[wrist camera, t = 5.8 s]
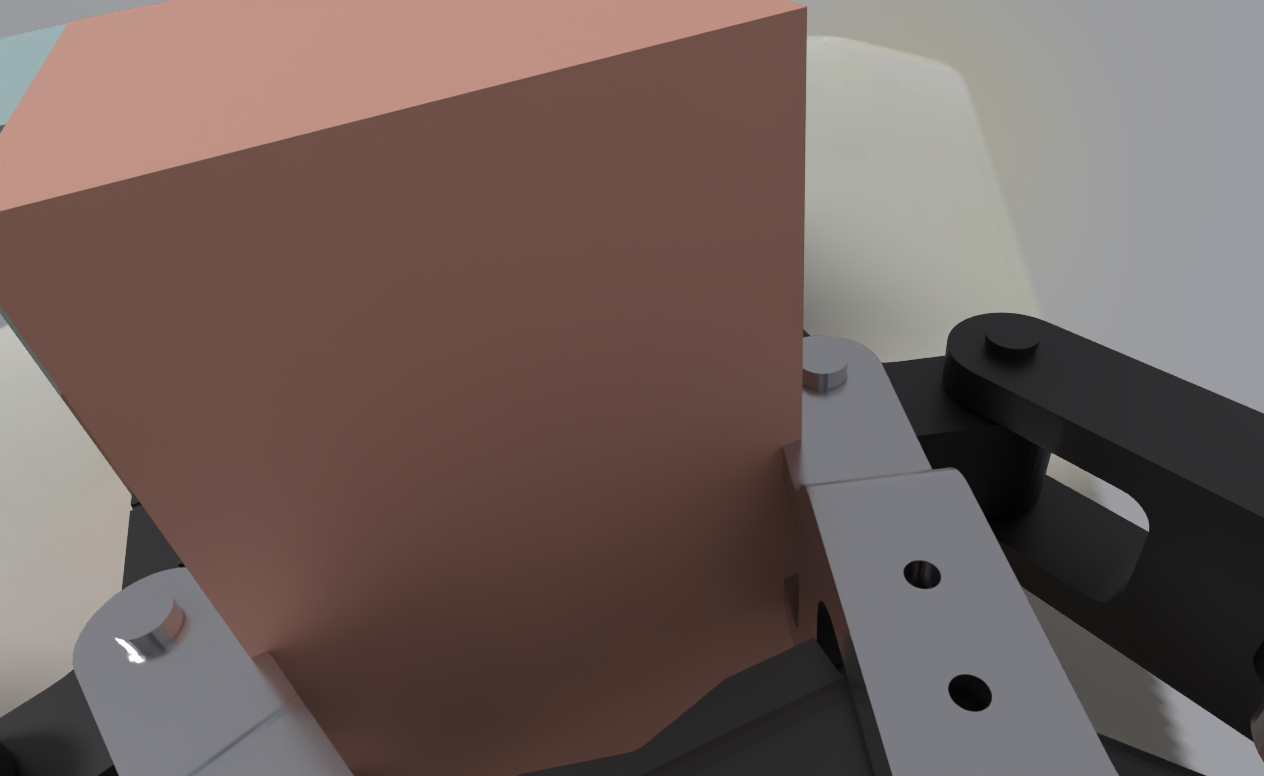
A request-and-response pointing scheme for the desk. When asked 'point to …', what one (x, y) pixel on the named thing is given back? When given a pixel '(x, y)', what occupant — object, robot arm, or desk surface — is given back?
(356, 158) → the brick-red block
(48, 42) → the tower top block
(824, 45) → the desk surface
